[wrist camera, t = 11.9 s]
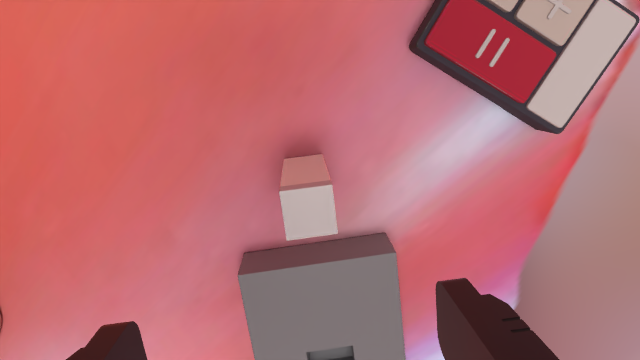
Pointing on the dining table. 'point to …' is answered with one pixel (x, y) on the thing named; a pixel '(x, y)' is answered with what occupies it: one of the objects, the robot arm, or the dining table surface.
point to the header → (324, 301)
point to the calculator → (526, 51)
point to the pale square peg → (307, 198)
